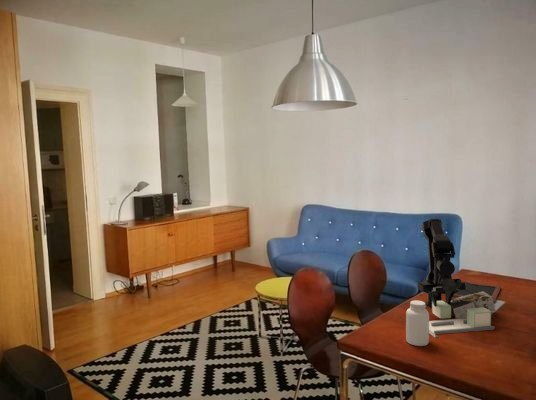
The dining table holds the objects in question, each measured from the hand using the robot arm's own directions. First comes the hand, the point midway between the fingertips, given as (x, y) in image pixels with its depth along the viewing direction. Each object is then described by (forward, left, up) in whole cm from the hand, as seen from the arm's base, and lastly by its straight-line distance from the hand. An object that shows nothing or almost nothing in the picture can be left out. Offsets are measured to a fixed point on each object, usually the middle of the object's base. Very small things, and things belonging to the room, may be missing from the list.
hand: (441, 306), depth 175 cm
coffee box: (+3, +20, +2) cm, 20 cm away
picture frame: (-28, +33, -6) cm, 44 cm away
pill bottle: (+19, -20, -6) cm, 28 cm away
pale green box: (0, 0, -6) cm, 6 cm away
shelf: (+11, 0, -6) cm, 12 cm away
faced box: (+13, +8, -4) cm, 16 cm away
